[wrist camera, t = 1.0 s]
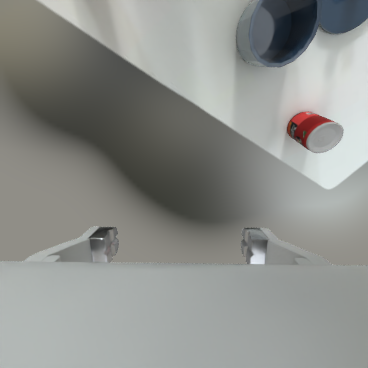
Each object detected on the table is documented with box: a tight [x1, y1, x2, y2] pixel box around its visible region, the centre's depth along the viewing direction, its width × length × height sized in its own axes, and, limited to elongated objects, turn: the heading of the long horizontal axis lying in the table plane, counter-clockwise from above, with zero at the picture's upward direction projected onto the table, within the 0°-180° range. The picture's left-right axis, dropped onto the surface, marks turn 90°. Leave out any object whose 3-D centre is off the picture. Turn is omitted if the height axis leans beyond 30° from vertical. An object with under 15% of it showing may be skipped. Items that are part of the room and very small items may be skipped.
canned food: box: [287, 112, 343, 153], centre depth 48 cm, size 8×8×11 cm
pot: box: [236, 0, 322, 67], centre depth 36 cm, size 12×12×9 cm
